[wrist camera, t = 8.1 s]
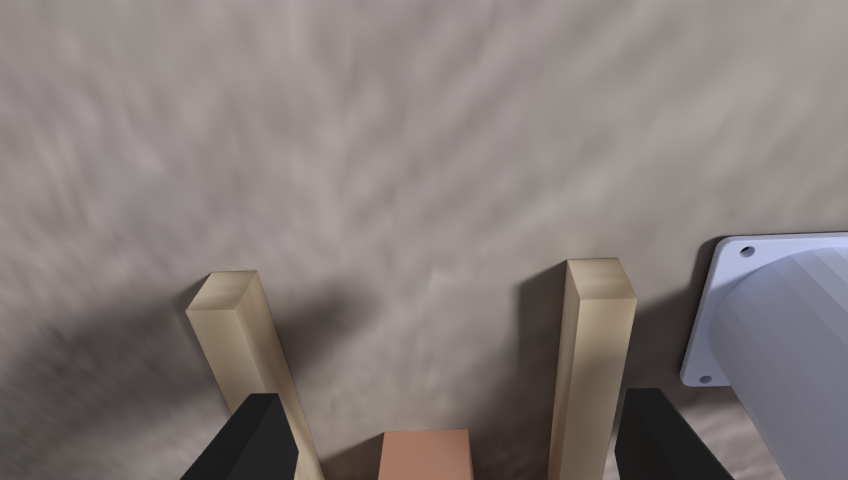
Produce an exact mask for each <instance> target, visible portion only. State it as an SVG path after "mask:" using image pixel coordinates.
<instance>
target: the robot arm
mask: <svg viewBox="0 0 848 480" xmlns="http://www.w3.org/2000/svg"><path fill="white" fill-rule="evenodd" d="M748 246H749V248H748V249H747V250H745V251H743V252H741V250H742V249H743V248H745V247H748ZM680 379H681V381H682V382H683V384H684V385H686V386H692V387H694V386H731V387H732V388H733V390H734V392H735V393H736V395H737V397H738V398H739V400H740V402H741V404H742V405H743V407H744V409H745V410H746V412H747V414H748V415H749V417H750V419H751V420H752V422H753V424H754V426H755V427H756V429H757V431H758V432H759V434H760V436H761V437H762V439H763V441H764V442H765V444H766V446H767V447H768V449H769V451H770V453H771V454H772V456H773V458H774V459H775V461H776V463H777V464H778V466H779V468H780V469H781V471H782V473H783V475H784V476H785V478H786V480H848V232H837V233H811V234H785V235H759V236H733V237H727V238H725V239H723V240H721V241H720V242H719V243H718V244H717V246H716V248H715V252H714V255H713V259H712V262H711V266H710V269H709V273H708V276H707V280H706V283H705V287H704V290H703V294H702V297H701V301H700V304H699V308H698V311H697V315H696V318H695V322H694V325H693V329H692V332H691V336H690V339H689V343H688V346H687V350H686V353H685V357H684V360H683V364H682V368H681V371H680ZM614 452H615V457H616V462H617V466H618V471H619V476H620V480H735V479H734V478H733V477H732V476H731V475H730V474H729V473H728V471H727V470H726V469H725V468H724V467H723V466H722V464H721V463H720V462H719V461H718V460H717V458H716V457H715V456H714V455H713V454H712V452H711V451H710V450H709V449H708V448H707V446H706V445H705V444H704V443H703V442H702V440H701V439H700V438H699V437H698V435H697V434H696V433H695V432H694V430H693V429H692V428H691V427H690V425H689V424H688V423H687V422H686V420H685V419H684V418H683V417H682V415H681V414H680V413H679V412H678V410H677V409H676V408H675V406H674V405H673V404H672V403H671V401H670V400H669V399H668V397H667V396H666V395H665V393H664V392H663V391H662V390H660V389H659V388H639V389H627V392H626V397H625V402H624V407H623V412H622V417H621V421H620V426H619V431H618V436H617V441H616V445H615V450H614ZM298 455H299V450H298V447H297V445H296V442H295V439H294V436H293V433H292V431H291V428H290V425H289V422H288V419H287V417H286V414H285V411H284V408H283V405H282V403H281V400H280V397H279V394H278V393H251V394H250V395H249V396H248V397H247V398H246V399H245V400H244V401H243V403H242V404H241V405H240V406H239V408H238V409H237V410H236V411H235V413H234V414H233V415H232V416H231V418H230V419H229V420H228V421H227V423H226V424H225V425H224V426H223V428H222V429H221V430H220V431H219V433H218V434H217V435H216V436H215V438H214V439H213V440H212V441H211V443H210V444H209V445H208V446H207V447H206V449H205V450H204V451H203V452H202V454H201V455H200V456H199V457H198V459H197V460H196V461H195V462H194V463H193V464H192V466H191V467H190V468H189V469H188V470H187V472H186V473H185V474H184V475H183V476H182V478H181V479H180V480H294V477H295V472H296V466H297V461H298Z"/></svg>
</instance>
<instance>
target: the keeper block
mask: <svg viewBox="0 0 848 480" xmlns="http://www.w3.org/2000/svg"><path fill="white" fill-rule="evenodd" d="M378 480H474V473H473V465H472V457H471V449H470V441H469V433H468V429H452V430H424V431H397V432H385V433H384V441H383V448H382V455H381V462H380V469H379V477H378Z"/></svg>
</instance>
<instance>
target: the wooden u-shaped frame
mask: <svg viewBox="0 0 848 480" xmlns="http://www.w3.org/2000/svg"><path fill="white" fill-rule="evenodd" d="M637 299H638V298H637V296H636V294H635V292H634V290H633V288H632V286H631V283H630V281H629V279H628V277H627V275H626V273H625V271H624V269H623V267H622V265H621V263H620V261H619V259H618V258H610V259H581V260H567V269H566V280H565V291H564V302H563V313H562V324H561V335H560V346H559V356H558V367H557V378H556V389H555V400H554V411H553V422H552V432H551V443H550V454H549V465H548V476H547V480H602V478H603V473H604V468H605V463H606V457H607V452H608V447H609V442H610V437H611V432H612V427H613V422H614V417H615V411H616V406H617V401H618V396H619V391H620V386H621V381H622V376H623V371H624V365H625V360H626V355H627V350H628V345H629V340H630V335H631V330H632V325H633V319H634V314H635V309H636V304H637ZM186 313H187V316H188V318H189V320H190V322H191V325H192V327H193V329H194V331H195V334H196V336H197V338H198V340H199V342H200V345H201V347H202V349H203V351H204V354H205V356H206V358H207V360H208V363H209V365H210V367H211V369H212V372H213V374H214V376H215V378H216V380H217V383H218V385H219V387H220V389H221V392H222V394H223V396H224V398H225V401H226V403H227V405H228V407H229V409H230V412H231V414H232V415H233V414H234V413H235V411H236V410H237V409H238V408H239V406H240V405H241V404H242V403H243V401H244V400H245V399H246V398H247V397H248V396H249V395H250V394H251V393H278V394H279V397H280V400H281V403H282V405H283V408H284V411H285V414H286V417H287V419H288V422H289V425H290V428H291V431H292V433H293V436H294V439H295V442H296V445H297V447H298V450H299V455H298V461H297V466H296V472H295V477H294V480H325V478H324V475H323V472H322V469H321V466H320V463H319V460H318V457H317V454H316V451H315V448H314V444H313V441H312V438H311V435H310V432H309V429H308V426H307V423H306V420H305V417H304V414H303V411H302V408H301V405H300V402H299V399H298V396H297V392H296V389H295V386H294V383H293V380H292V377H291V374H290V371H289V368H288V365H287V362H286V359H285V356H284V353H283V350H282V347H281V344H280V341H279V337H278V334H277V331H276V328H275V325H274V322H273V319H272V316H271V313H270V310H269V307H268V304H267V301H266V298H265V295H264V292H263V289H262V285H261V282H260V279H259V276H258V273H257V271H241V272H212V273H211V275H210V276H209V277H208V279H207V280H206V282H205V283H204V285H203V286H202V288H201V289H200V291H199V292H198V293H197V295H196V296H195V298H194V299H193V301H192V302H191V304H190V305H189V307H188V308H187V309H186Z"/></svg>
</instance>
